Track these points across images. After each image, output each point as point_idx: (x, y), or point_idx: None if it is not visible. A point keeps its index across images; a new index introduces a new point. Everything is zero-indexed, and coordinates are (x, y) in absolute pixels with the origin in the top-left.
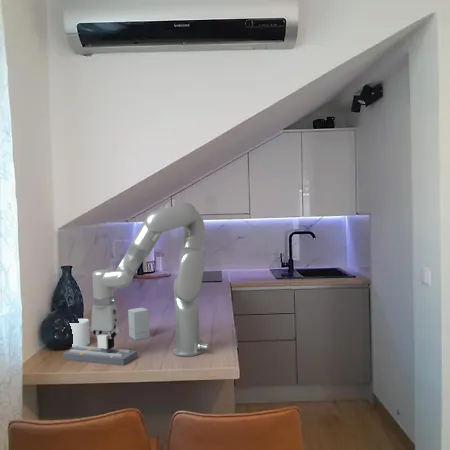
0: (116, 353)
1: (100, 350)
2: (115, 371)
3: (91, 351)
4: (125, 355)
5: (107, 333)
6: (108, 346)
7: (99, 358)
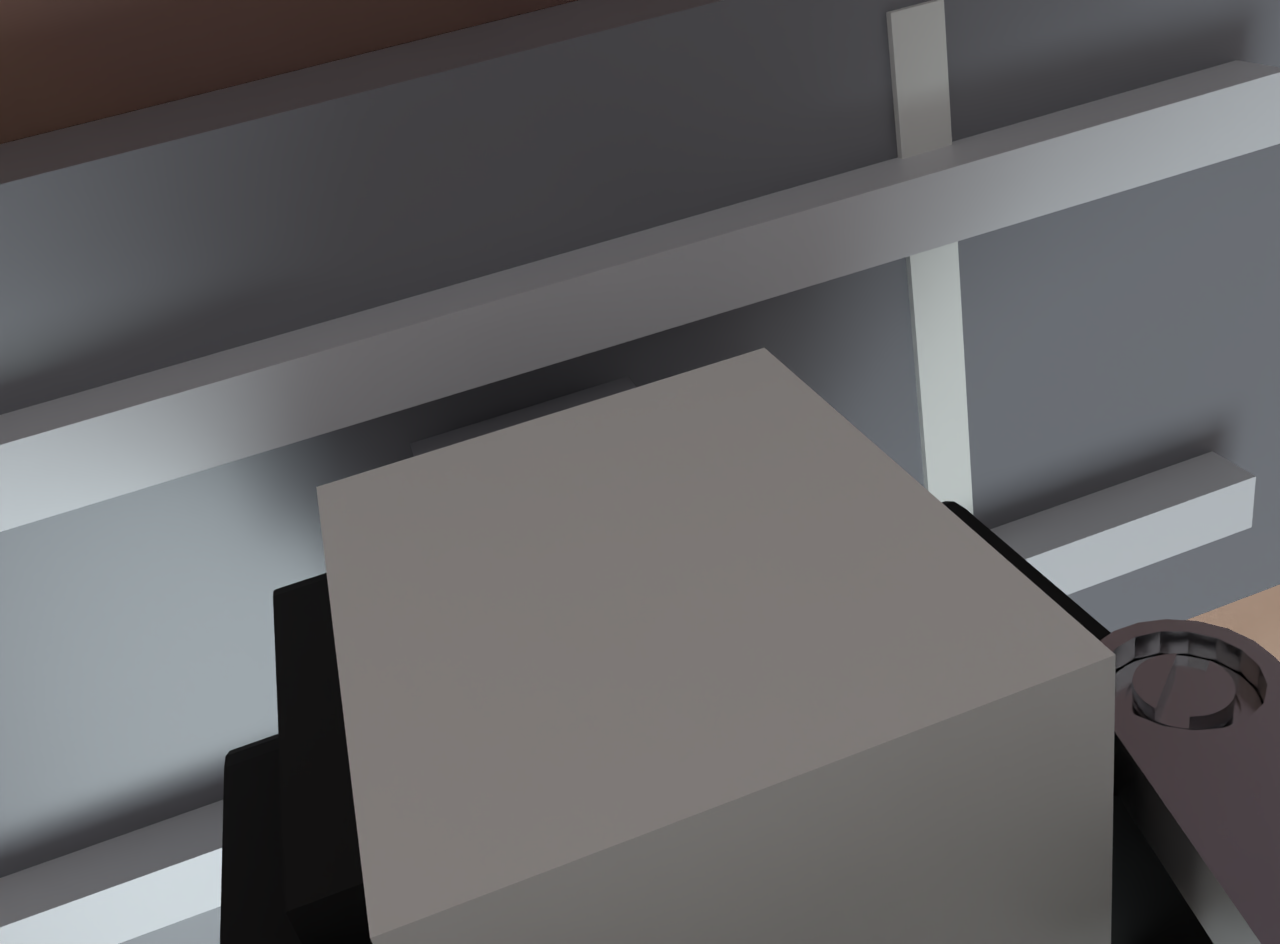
0: (928, 410)
1: (130, 495)
2: None
3: (157, 873)
4: (1248, 370)
5: (810, 937)
6: None
7: None
